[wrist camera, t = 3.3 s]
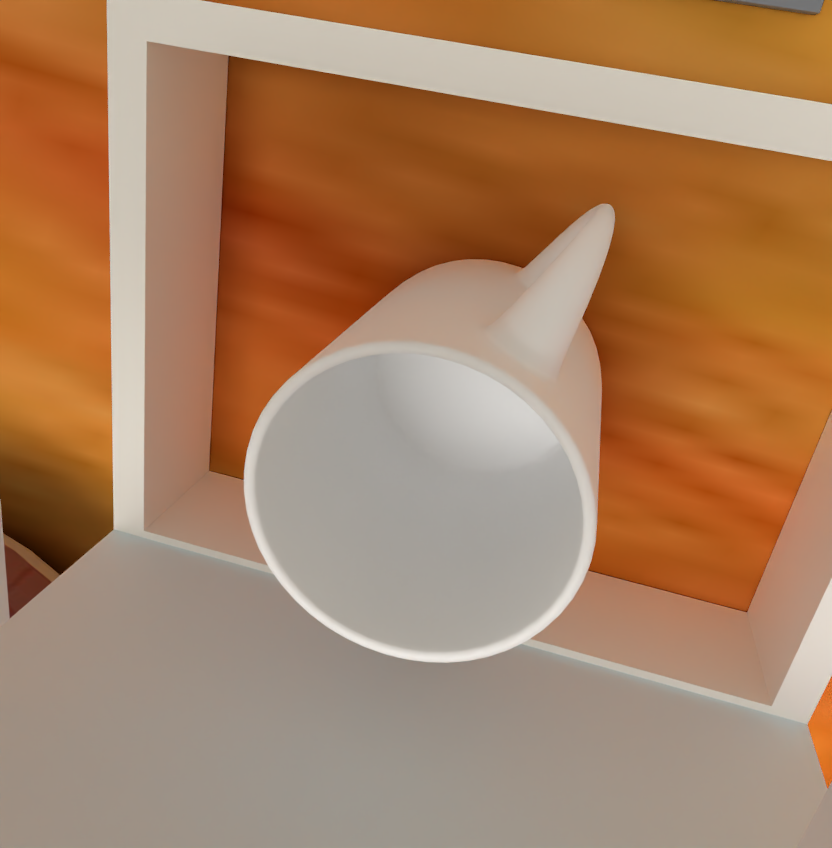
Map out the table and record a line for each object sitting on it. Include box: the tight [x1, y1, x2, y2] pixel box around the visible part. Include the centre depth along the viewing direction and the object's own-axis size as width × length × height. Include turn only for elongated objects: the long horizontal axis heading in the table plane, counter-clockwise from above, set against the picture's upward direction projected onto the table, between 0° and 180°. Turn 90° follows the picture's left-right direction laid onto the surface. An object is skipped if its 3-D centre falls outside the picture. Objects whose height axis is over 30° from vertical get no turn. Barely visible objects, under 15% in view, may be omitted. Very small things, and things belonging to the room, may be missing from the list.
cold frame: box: [0, 0, 832, 848], centre depth 18 cm, size 18×24×21 cm
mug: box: [244, 204, 615, 663], centre depth 22 cm, size 9×12×11 cm
